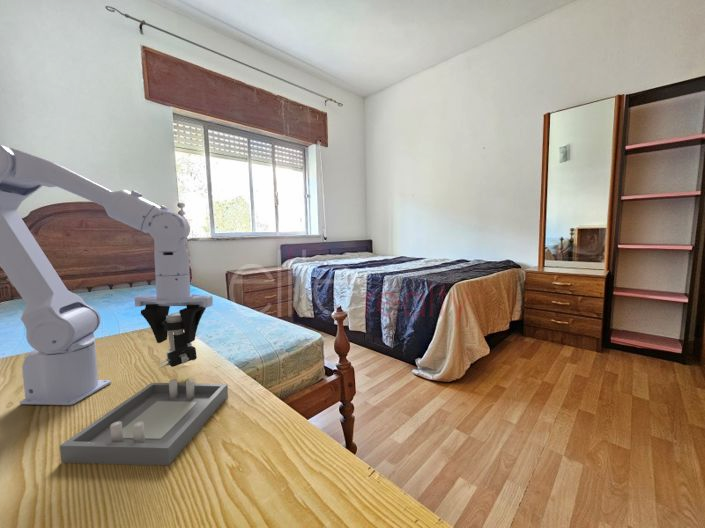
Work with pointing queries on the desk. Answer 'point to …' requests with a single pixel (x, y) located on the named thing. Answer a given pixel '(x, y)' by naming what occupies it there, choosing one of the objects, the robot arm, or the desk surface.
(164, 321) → the push button
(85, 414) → the desk surface
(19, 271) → the robot arm
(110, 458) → the pin tray
